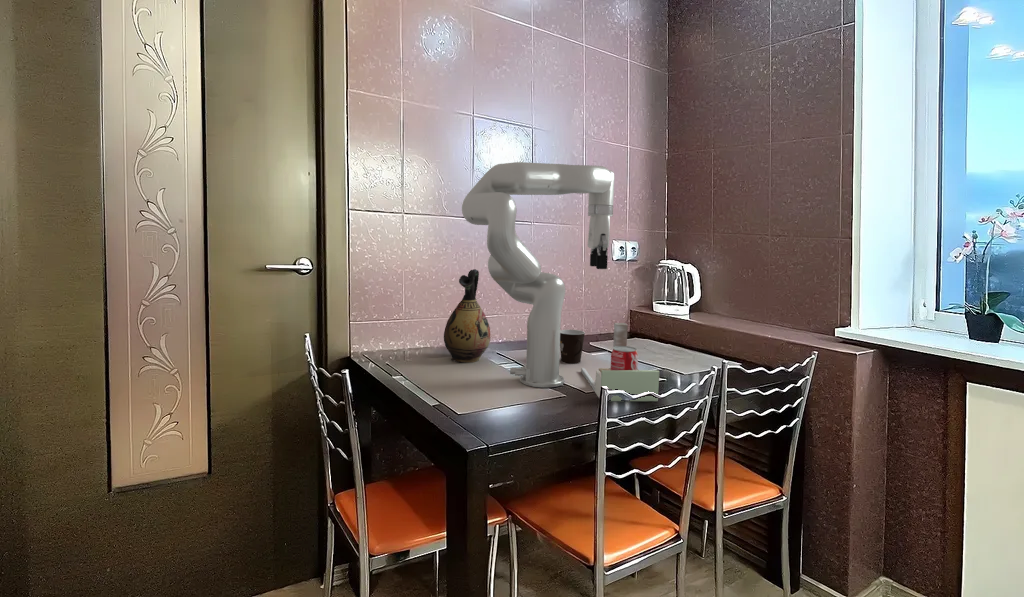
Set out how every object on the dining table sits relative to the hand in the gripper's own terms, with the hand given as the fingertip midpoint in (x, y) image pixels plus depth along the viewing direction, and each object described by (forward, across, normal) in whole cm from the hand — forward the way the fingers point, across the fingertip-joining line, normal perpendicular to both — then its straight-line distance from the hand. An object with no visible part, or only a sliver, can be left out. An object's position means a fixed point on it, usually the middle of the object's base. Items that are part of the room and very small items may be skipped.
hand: (598, 267), depth 175 cm
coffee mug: (+32, -9, -6) cm, 34 cm away
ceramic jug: (+32, -13, -40) cm, 53 cm away
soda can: (+32, +26, +2) cm, 42 cm away
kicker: (+32, +20, +3) cm, 38 cm away
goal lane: (+32, +17, +3) cm, 37 cm away
